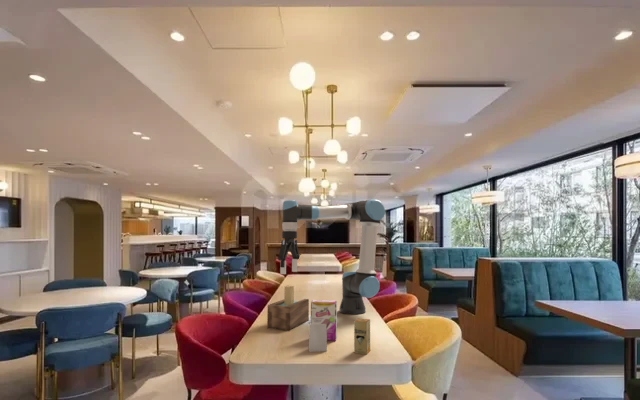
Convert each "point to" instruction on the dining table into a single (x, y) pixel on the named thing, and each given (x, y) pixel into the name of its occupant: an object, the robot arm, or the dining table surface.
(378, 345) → the dining table surface
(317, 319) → the candy bar box
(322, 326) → the white rectangular block
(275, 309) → the walnut box
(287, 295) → the cover plate
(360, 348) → the shoe polish box
